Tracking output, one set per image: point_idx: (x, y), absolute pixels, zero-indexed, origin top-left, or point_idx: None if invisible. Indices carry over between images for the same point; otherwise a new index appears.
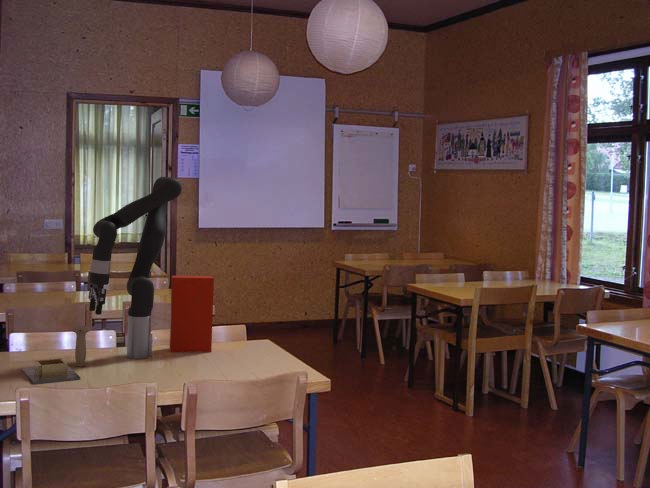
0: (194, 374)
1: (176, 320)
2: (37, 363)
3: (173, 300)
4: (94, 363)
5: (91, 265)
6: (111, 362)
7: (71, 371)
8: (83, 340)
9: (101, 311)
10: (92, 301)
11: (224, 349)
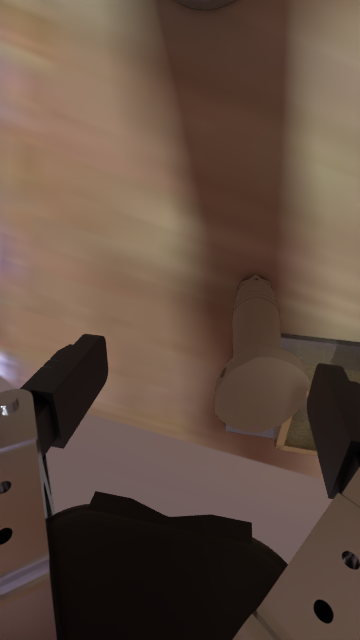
0: None
1: None
2: (316, 455)
3: None
4: (244, 228)
5: None
6: (265, 148)
7: (344, 352)
8: (280, 347)
9: (349, 384)
10: (53, 430)
11: None
